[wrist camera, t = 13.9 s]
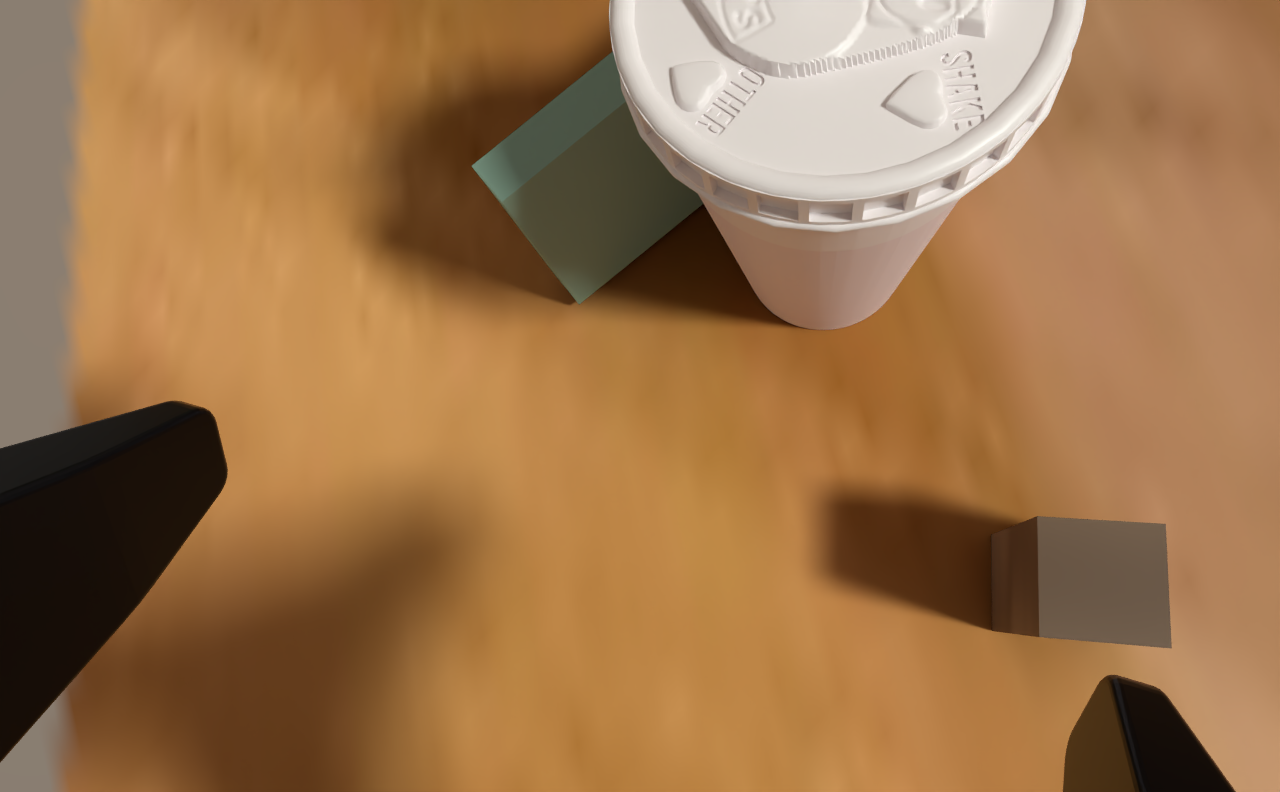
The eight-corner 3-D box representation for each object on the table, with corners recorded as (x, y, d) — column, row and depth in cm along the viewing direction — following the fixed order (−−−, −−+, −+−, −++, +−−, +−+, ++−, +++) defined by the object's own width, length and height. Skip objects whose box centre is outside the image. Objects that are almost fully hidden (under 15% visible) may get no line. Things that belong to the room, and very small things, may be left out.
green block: (579, 304, 22) (501, 202, 16) (533, 249, 22) (444, 132, 17) (991, -31, 22) (1052, -246, 16) (935, -77, 22) (976, -300, 17)
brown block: (1094, 639, 18) (1261, 659, 11) (991, 630, 18) (1094, 644, 12) (1066, -309, 23) (1169, -676, 17) (986, -300, 24) (1056, -655, 17)
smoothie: (732, 113, 22) (621, -625, 9) (994, 161, 21) (1332, -641, 7) (657, 348, 21) (403, -88, 8) (927, 417, 20) (1182, 22, 6)
